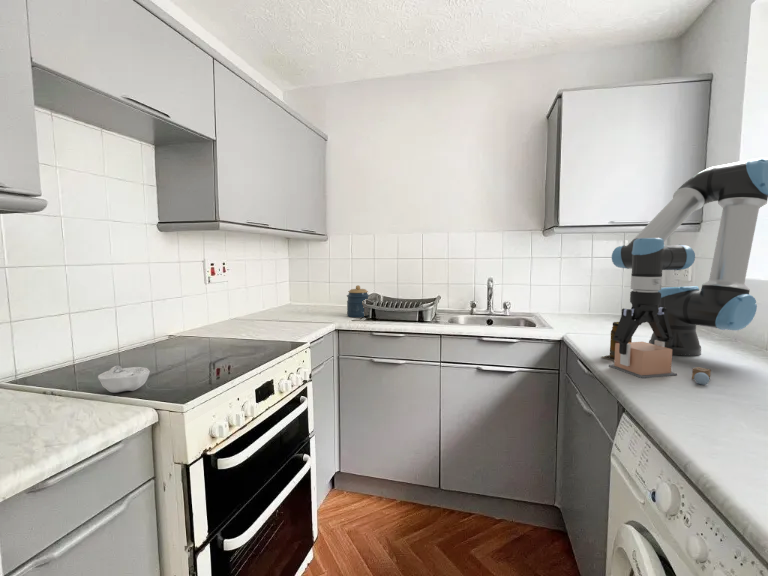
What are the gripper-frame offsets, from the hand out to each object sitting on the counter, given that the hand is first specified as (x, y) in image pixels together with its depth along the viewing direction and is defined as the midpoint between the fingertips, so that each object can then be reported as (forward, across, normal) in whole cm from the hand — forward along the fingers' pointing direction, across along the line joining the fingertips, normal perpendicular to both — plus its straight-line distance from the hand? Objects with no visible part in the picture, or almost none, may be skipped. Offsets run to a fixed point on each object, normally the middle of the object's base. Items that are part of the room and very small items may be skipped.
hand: (641, 363), depth 116 cm
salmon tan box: (+2, 0, 0) cm, 2 cm away
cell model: (+2, -145, +16) cm, 146 cm away
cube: (+2, +9, -10) cm, 14 cm away
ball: (0, +5, -14) cm, 15 cm away
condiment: (+2, +4, +13) cm, 14 cm away
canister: (+2, -68, +123) cm, 141 cm away
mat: (+2, 0, 0) cm, 2 cm away
